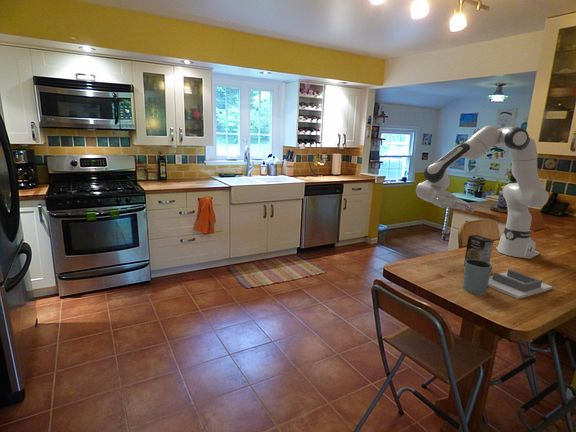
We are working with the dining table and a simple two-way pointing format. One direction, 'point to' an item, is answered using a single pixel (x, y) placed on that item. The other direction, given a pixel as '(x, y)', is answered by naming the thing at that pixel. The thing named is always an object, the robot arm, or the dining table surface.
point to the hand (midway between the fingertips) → (469, 209)
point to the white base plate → (517, 284)
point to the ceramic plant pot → (476, 276)
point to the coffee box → (479, 248)
